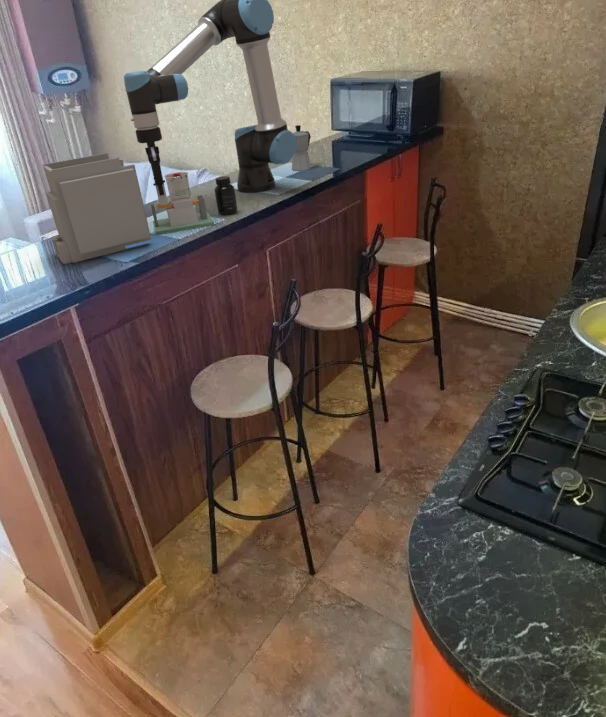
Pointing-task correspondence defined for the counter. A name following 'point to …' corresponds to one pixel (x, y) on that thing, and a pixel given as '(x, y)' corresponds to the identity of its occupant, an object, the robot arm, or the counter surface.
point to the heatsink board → (181, 227)
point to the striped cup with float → (178, 184)
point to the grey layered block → (95, 207)
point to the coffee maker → (301, 151)
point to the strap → (172, 204)
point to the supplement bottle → (225, 196)
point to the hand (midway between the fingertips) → (163, 204)
